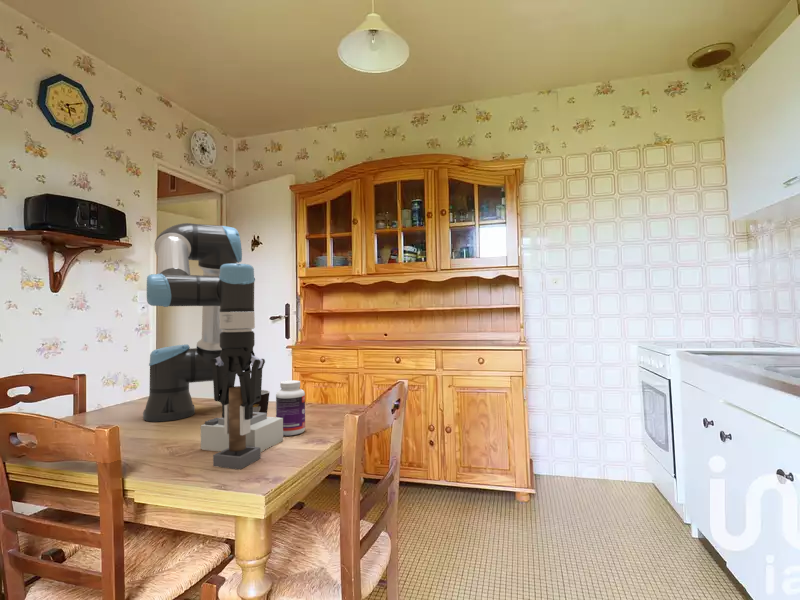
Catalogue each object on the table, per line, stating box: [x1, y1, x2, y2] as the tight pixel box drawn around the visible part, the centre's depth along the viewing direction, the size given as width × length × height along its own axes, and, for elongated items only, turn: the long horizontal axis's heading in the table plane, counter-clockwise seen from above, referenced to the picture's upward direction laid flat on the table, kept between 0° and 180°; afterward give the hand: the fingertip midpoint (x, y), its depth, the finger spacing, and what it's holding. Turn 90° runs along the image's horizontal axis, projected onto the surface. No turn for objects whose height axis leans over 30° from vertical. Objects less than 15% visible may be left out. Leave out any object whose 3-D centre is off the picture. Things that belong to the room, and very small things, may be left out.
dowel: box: [229, 385, 246, 452], centre depth 96 cm, size 4×4×14 cm
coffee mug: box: [253, 389, 270, 414], centre depth 127 cm, size 12×9×10 cm
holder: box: [212, 446, 261, 471], centre depth 96 cm, size 7×7×2 cm
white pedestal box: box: [200, 412, 284, 453], centre depth 108 cm, size 16×12×8 cm
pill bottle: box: [275, 379, 306, 437], centre depth 119 cm, size 8×8×14 cm
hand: (237, 432), depth 96 cm, fingers closed on dowel, 3 cm apart
